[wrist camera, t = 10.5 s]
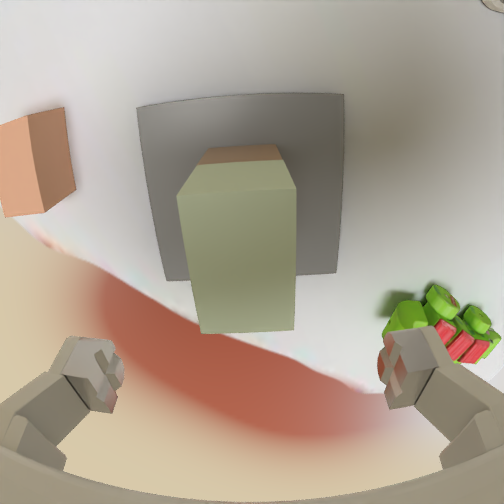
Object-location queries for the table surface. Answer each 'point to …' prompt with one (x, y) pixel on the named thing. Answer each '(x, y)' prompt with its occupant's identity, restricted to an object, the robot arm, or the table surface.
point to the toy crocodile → (448, 325)
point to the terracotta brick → (34, 163)
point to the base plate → (250, 125)
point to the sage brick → (241, 245)
